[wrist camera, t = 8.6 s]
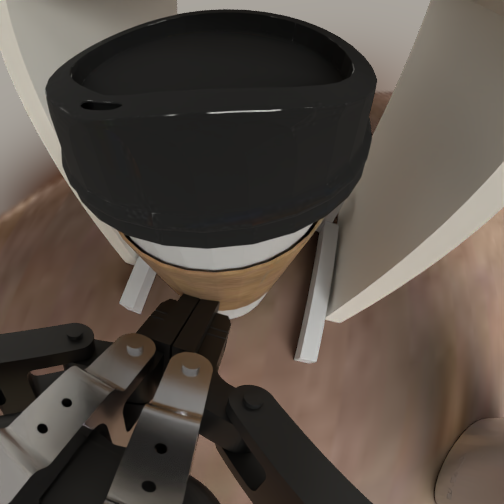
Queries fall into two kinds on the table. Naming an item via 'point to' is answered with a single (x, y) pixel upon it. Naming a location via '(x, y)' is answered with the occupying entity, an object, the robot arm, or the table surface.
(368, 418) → the table surface
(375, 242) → the white rectangular frame
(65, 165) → the coffee cup
